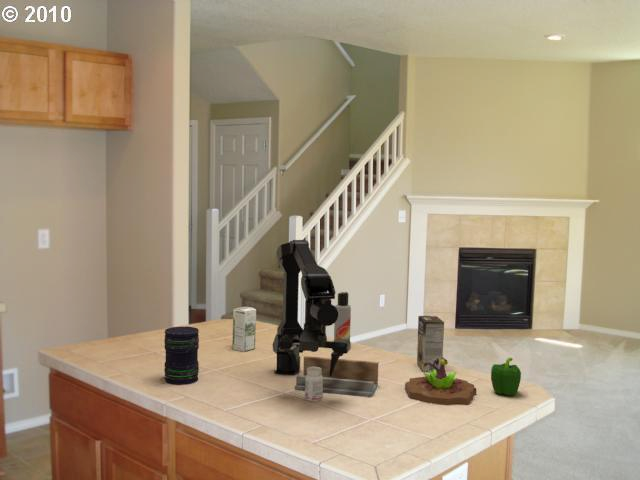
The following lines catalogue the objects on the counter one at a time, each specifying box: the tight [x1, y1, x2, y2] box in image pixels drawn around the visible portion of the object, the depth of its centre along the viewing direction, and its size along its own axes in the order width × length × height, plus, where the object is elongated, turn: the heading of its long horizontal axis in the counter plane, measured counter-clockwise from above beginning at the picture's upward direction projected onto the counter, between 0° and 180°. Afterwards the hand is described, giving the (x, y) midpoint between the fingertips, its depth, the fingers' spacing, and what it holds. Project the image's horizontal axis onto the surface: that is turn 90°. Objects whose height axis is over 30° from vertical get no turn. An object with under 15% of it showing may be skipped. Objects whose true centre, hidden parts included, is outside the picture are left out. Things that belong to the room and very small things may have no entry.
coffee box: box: [416, 315, 445, 373], centre depth 219 cm, size 9×6×16 cm
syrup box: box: [232, 306, 257, 353], centre depth 237 cm, size 6×6×14 cm
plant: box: [404, 356, 477, 406], centre depth 193 cm, size 20×20×11 cm
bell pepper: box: [490, 357, 522, 397], centre depth 194 cm, size 8×8×10 cm
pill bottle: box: [304, 367, 324, 402], centre depth 186 cm, size 5×5×8 cm
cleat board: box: [294, 355, 379, 398], centre depth 196 cm, size 22×11×7 cm, turn 77°
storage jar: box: [163, 326, 200, 386], centre depth 200 cm, size 10×10×15 cm
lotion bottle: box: [333, 291, 352, 341], centre depth 243 cm, size 6×6×20 cm
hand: (314, 374), depth 186 cm, fingers open, 9 cm apart
